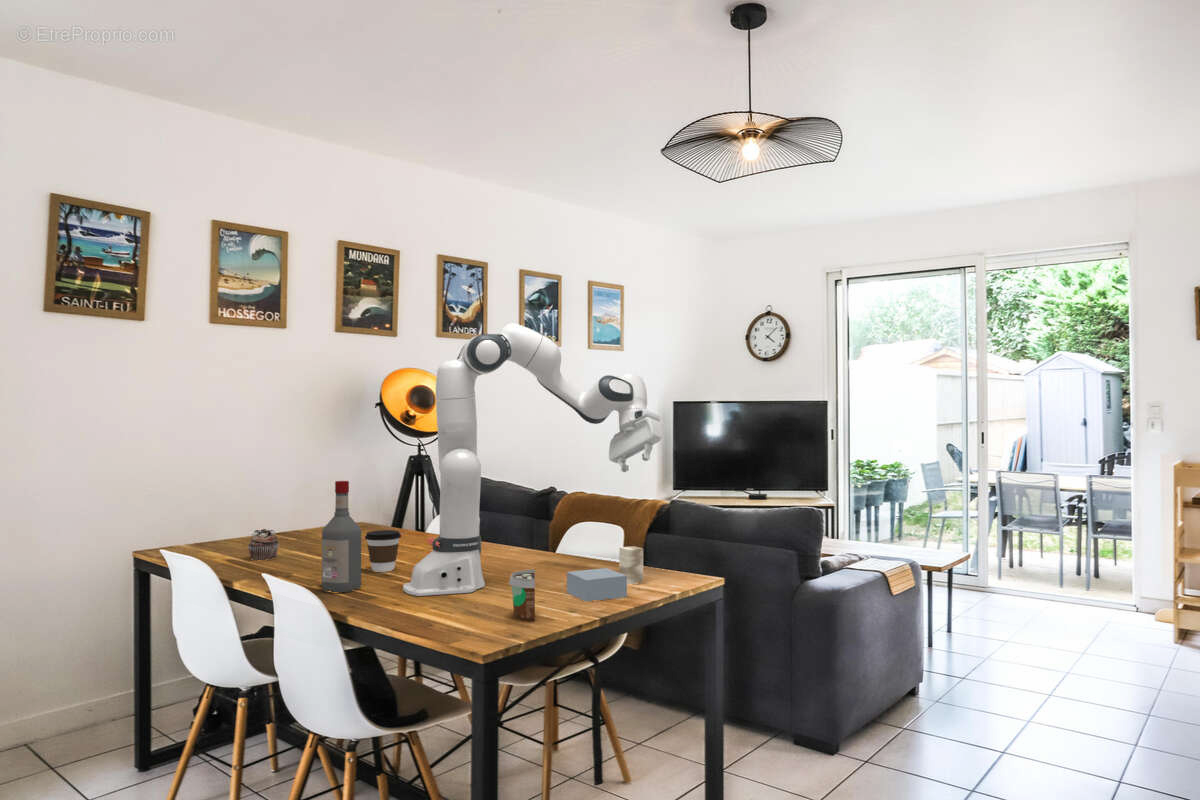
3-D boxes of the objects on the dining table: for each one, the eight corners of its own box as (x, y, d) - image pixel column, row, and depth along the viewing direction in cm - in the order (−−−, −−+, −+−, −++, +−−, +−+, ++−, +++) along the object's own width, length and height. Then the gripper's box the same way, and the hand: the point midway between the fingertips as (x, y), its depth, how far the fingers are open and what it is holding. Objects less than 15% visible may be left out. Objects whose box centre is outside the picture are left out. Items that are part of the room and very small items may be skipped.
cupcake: (284, 556, 268) (284, 527, 268) (267, 562, 258) (267, 531, 258) (259, 556, 269) (259, 527, 270) (241, 561, 260) (241, 531, 260)
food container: (509, 610, 192) (509, 569, 193) (534, 609, 193) (534, 569, 193) (508, 623, 180) (508, 579, 180) (534, 622, 181) (534, 579, 181)
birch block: (628, 585, 220) (628, 550, 221) (619, 582, 225) (619, 547, 225) (643, 583, 223) (643, 548, 223) (634, 580, 227) (634, 546, 227)
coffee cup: (385, 566, 250) (385, 528, 250) (408, 570, 243) (408, 531, 244) (357, 572, 241) (357, 533, 241) (380, 576, 234) (380, 536, 235)
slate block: (586, 603, 200) (585, 580, 200) (567, 594, 211) (566, 571, 211) (627, 598, 206) (626, 575, 206) (606, 589, 216) (606, 568, 217)
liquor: (343, 594, 210) (344, 483, 211) (316, 591, 214) (317, 482, 214) (365, 587, 219) (366, 480, 219) (339, 585, 222) (340, 479, 223)
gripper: (603, 433, 239) (604, 474, 232) (648, 407, 225) (650, 449, 218) (619, 439, 242) (620, 480, 235) (664, 413, 229) (667, 456, 222)
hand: (635, 465), depth 227 cm, fingers open, 8 cm apart
